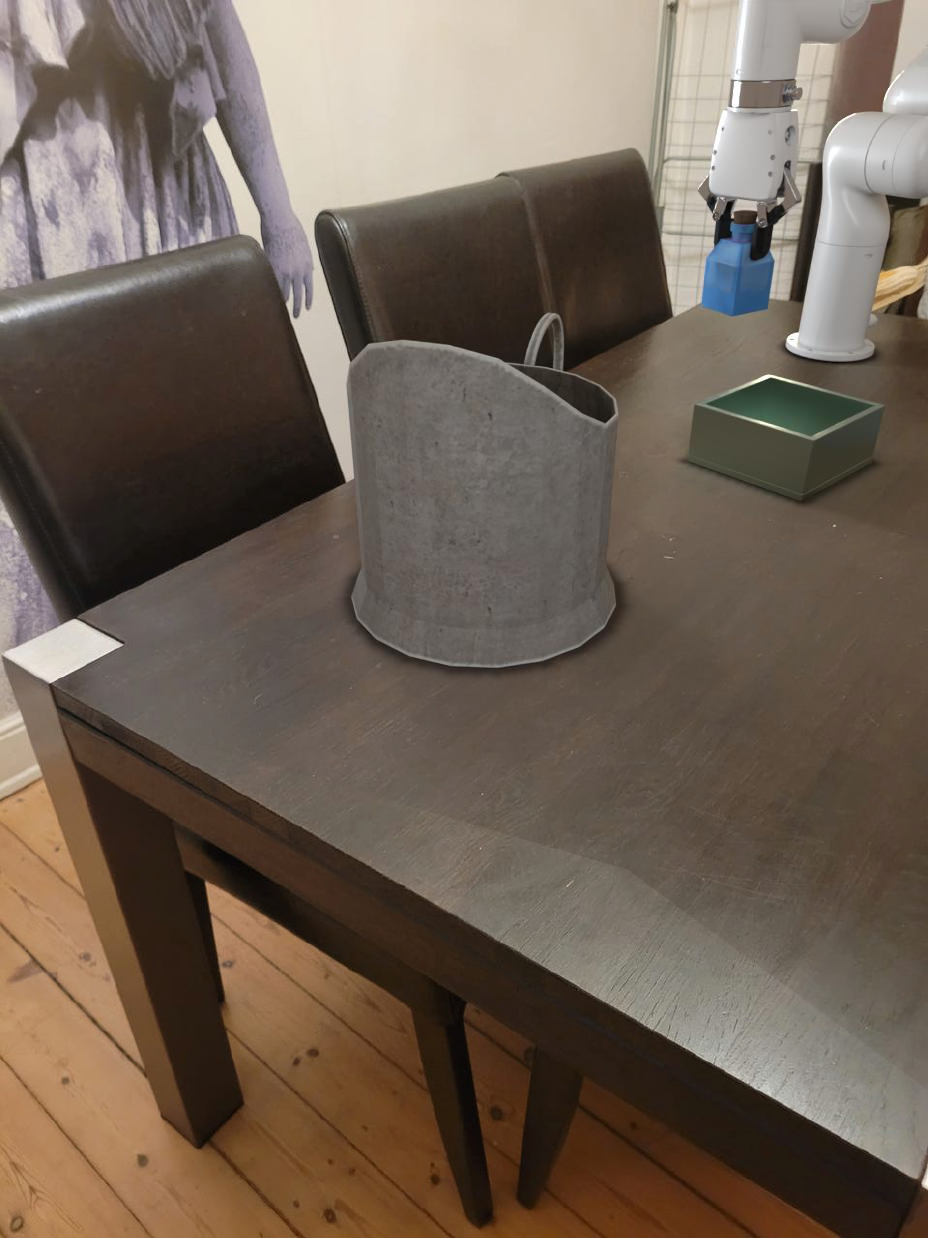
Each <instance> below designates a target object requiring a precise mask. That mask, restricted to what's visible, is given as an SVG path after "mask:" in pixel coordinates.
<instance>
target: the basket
mask: <svg viewBox="0 0 928 1238" xmlns="http://www.w3.org/2000/svg"><path fill="white" fill-rule="evenodd" d="M885 408H886V404H883V403H877V402H875V401H871V400H867V399H863V398H859V397H855V396H851V395H849V394H844V393H841V392H837V391H833V390H830V389H825V388H822V387H818V386H815V385H812V384H811V385H810V384H807V383H803V382H799V381H796V380H792V379H788V378H784V377H781V376H777V375H773V374H766V375H762V376H760V377H758V378H756V379H754V380H751V381H748V382H746V383H743V384H741V385H738V386H736V387H733V388H730V389H729V390H725V391H723V392H721V393H718V394H715V395H713V396H710V397H709V398H705V399H703V400H701V401H698V402H696V403H694V406H693V412H692V413H693V414H692V419H691V420H692V421H691V429H690V436H689V444H688V453H687V459H686V461H687V462H689V463H691V464H692V463H693V464H695V465H698V466H701V467H703V468H705V469H708V470H711V471H714V472H718V473H720V474H722V475H725V476H729V477H730V478H731V477H732V478H734V479H737V480H739V481H742V482H745V483H747V484H751V485H752V486H753V485H754V486H756V487H759V488H762V489H765V490H767V491H770V492H772V493H776V494H778V495H782V496H785V497H787V498H790V499H793V500H796V501H798V502H804V501H806V500H807V499H809V498H810V497H813V496H814V495H816V494H818V493H819V492H822V491H823V490H825V489H827V488H829V487H830V486H832V485H834V484H836V483H838V482H839V481H841V480H843V479H845V478H847V477H848V476H850V475H852V474H853V473H856V472H858V471H859V470H861V469H863V468H864V467H867V466H868V465H870V464H872V462H873V457H874V453H875V448H876V445H877V441H878V437H879V434H880V430H881V429H880V428H881V425H882V420H883V416H884V412H885Z"/></svg>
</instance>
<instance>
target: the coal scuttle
mask: <svg viewBox="0 0 928 1238" xmlns="http://www.w3.org/2000/svg"><path fill="white" fill-rule="evenodd" d="M550 325H551V327H552V332H553V334H552V335H553V361H552V363H553V364H552V368H551V367H548V366H541V365H535V364H536V360H537V356H538V353H539V349H540V345H541V343H542V340H543V338H544V336H545V333H546V331H547V329H548V328H549V326H550ZM564 351H565V334H564V325H563V321H562V318H561V316H560V315H559V314H558V313H554V312H547V313H545V314H544V315H543V316H542V317H541V318H540V319H539V321H538V323H537V324H536V326H535V328H534V330H533V332H532V335H531V338H530V340H529V342H528V346H527V349H526V352H525V357H524V361H523V363H516V362H505V361H503V360H502V359H500V358H498V357H494V356H491V355H487V354H484V353H480V352H476V351H473V350H469V349H466V348H462V347H458V346H453V345H450V344H445V343H444V344H443V343H435V342H426V341H419V340H409V339H398V340H391V341H382V342H372V343H368V344H367V345H366V346H365V347H364V348H363V349H361V351H360V352H359V353H358V354H357V356H355V358H353V360H351V362H350V363H349V365H348V371H347V377H346V383H345V384H346V387H345V388H346V397H347V398H346V399H347V409H348V410H347V411H348V421H349V434H350V445H351V457H352V468H353V470H352V471H353V480H354V481H353V483H354V495H355V505H356V516H357V518H356V519H357V531H358V541H359V553H360V566H361V568H360V570H359V573H358V575H357V579H356V582H355V584H354V588H353V590H352V592H351V596H350V598H351V602H352V605H353V609H354V613H355V617H356V620H357V621H358V622H359V623H360V624H361V625H362V626H363V627H364V628H365V629H366V630H367V631H368V633H370V635H371V636H372V637H373V638H374V639H375V640H376V641H378V642H380V643H382V644H384V645H386V646H388V647H390V648H392V649H394V650H396V651H397V652H400V653H402V654H404V655H406V656H407V657H409V658H410V657H411V658H415V659H419V660H423V661H427V662H430V663H435V664H440V665H444V666H449V667H459V668H460V667H461V668H487V669H489V668H490V669H500V668H506V667H512V666H520V665H526V664H532V663H539V662H544V661H546V660H549V659H552V658H554V657H557V656H560V655H562V654H564V653H567V652H570V651H573V650H576V649H578V648H580V647H581V646H583V645H584V644H585V643H587V642H588V641H589V640H590V639H592V638H593V637H594V636H596V635H597V634H598V633H600V632H601V631H602V630H604V629H605V627H606V626H607V624H608V621H609V620H610V617H611V616H612V614H613V612H614V610H615V608H616V606H617V602H616V593H615V584H614V581H613V578H612V576H611V572H610V571H609V568H608V566H607V558H608V546H609V534H610V524H611V523H610V522H611V509H612V498H613V487H614V486H613V485H614V474H615V463H616V462H615V461H616V449H617V437H618V426H619V408H618V404H617V399H616V398H615V397H614V396H613V395H612V393H610V392H609V391H608V390H606V388H605V387H603V386H602V385H601V384H599V383H597V382H594V381H592V380H590V379H588V378H585V377H583V376H581V375H578V374H576V373H573V372H568V371H564V354H565V353H564Z"/></svg>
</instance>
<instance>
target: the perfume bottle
mask: <svg viewBox="0 0 928 1238" xmlns="http://www.w3.org/2000/svg"><path fill="white" fill-rule="evenodd" d="M732 215H733V218H734V221H732V222H731V228H730V231H732V237H731V238H725V239H720V241H719V242H718V244H717V245H716V246H715V247H714V246H713V249H711V251H710V253H708V254H707V255H708V256H707V257H706V258H705V265H704V276H703V284H702V294H701V304H700V306H701V307H702V308H706V309H708V310H712V311H714V312H717V313H720V314H723V315H726V316H729V317H737V316H741V315H747V314H751V313H756V312H760V311H765V310H768V309H769V303H770V297H771V291H772V290H771V289H772V282H773V276H774V270H775V262H776V260H775V258H774V256H773V254H772V252H771V249H770V250H769V252H768V254H767V255H766V256H765V257H764V258H762V259H759V260H755V261H754V260H751V258H750V251H751V244H752V236H753V230H754V228H755V227H758V214H757V210H751V209H740V210H735V211H734V210H733V213H732Z"/></svg>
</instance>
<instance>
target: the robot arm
mask: <svg viewBox="0 0 928 1238" xmlns="http://www.w3.org/2000/svg"><path fill="white" fill-rule="evenodd" d="M890 1H891V2H892V0H738V7H737V8H738V9H737V19H736V27H735V37H734V44H733V45H734V47H733V53H732V54H733V55H732V61H731V62H732V64H731V72H730V80H729V88H728V97H727V98H728V99H727V106H726V108H724V109H722V112H721V115H720V119H719V123H718V126H717V130H716V134H715V138H714V144H713V149H712V155H711V160H710V167H709V172H708V174H706V176H705V177H704V179H703V180H702V181H701V183H700V184H699V186H698V187H697V192H698V193H699V195H700V197H701V198H702V199H703V200H704V201H705V202H706V205H707V207H708V209H709V211H710V212H711V214H712V215H711V218H712V220H713V221H714V222H715V225H714V226H715V227H714V235H713V248H714V247H715V246H716V245H717V244H718V242H719V241H720V239H725V238H731V237H732V231H730V228H731V222H732V221H734V217H732V216H733V212H734V210H735V207H736V204H737V202H738V200H742V201H749V202H756V211H757V214H758V217H757V222H758V227H755V228H754V230H753V236H752V244H751V251H750V258H751V260H754V261H755V260H759V259H762V258H764V257H765V256H766V255H767V254H768V252H769V250H770V251H771V246H772V241H773V240H772V239H773V232H774V226H775V225H777V224H778V223H779V221H780V220H781V219H782V218H783V217H785V215H787V214H788V212H790V211H792V210H793V209H794V208H796V207H797V206H799V205H800V204H801V203H802V201H803V197H802V194H801V193H800V191H799V188H798V186H797V184H796V180H797V179H796V178H797V169H798V159H799V140H800V139H799V138H800V136H799V135H800V128H799V127H800V126H799V112H798V109H792V107H793V105H794V101H800V100H801V99H802V97H803V94H804V89H803V87H802V86H797V74H798V73H797V72H798V65H799V58H800V54H801V53H800V52H801V45H802V44H803V45H813V46H814V45H820V46H822V45H823V46H824V45H826V46H827V45H828V46H829V45H836V44H840V43H842V42H845V41H846V40H849V39H850V38H852V37H853V36H855V35H856V34H857V33H858V32H859V30H861V28H862V27H863V26H864V24H865V23H866V21H867V19H868V17H869V15H870V12H871V8H872V7H871V6H872V5H877V4H882V3H887V2H890ZM822 153H823V154H822V192H821V193H822V194H821V205H820V212H819V219H818V226H817V231H816V237H815V242H814V247H813V252H812V257H811V261H810V262H811V263H810V268H809V273H808V278H807V285H806V290H805V294H804V295H805V296H804V300H803V307H802V310H801V311H802V312H801V317H800V323H799V328H798V332H794V333H792V334H790V335H789V336H788V337H787V338H786V342H785V348H786V349H787V350H788V351H789V352H791V353H792V354H795V355H797V356H800V357H803V358H806V359H811V360H816V361H823V362H834V363H835V362H839V363H840V362H841V363H843V362H845V363H847V362H858V361H862V360H866V359H868V358H870V357H872V356H873V354H874V353H875V349H876V346H875V344H874V343H873V342H872V341H871V340H870V339H868V338H866V337H867V333H868V329H871V328H873V327H875V326H877V324H878V317H877V315H876V314H873V313H872V311H873V307H874V302H875V297H876V292H877V290H878V289H877V288H878V284H879V280H880V275H881V270H882V267H883V262H884V258H885V254H886V253H885V252H886V248H887V245H888V244H887V243H888V241H889V234H890V230H891V229H890V228H891V215H890V209H889V204H888V199H887V197H886V196H892V197H898V198H905V199H913V200H914V199H915V200H916V199H917V200H919V199H926V198H928V44H927V45H926V46H925V47H924V48H923V49H922V50H921V51H920V52H919V53H918V54H917V55H916V56H915V57H914V58H913V59H912V60H911V61H910V63H908V64H907V66H906V67H905V68H904V69H903V70H902V71H900V73H899V74H898V75H897V76H896V78H895V79H894V80H893V82H891V85H890V86H889V88H888V89H887V91H886V93H885V96H884V98H883V102H882V111H862V112H855V113H853V114H850V115H848V116H846V117H845V118H843V119H841V120H840V121H838V122H837V124H836V125H835V126H834V127H833V128H832V130H831V131H830V132H829V135H828V136H827V139H826V141H825V144H824V148H823V152H822ZM778 199H783V200H782V201H781V202H780V203H779V202H778ZM778 203H779V204H778Z"/></svg>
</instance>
